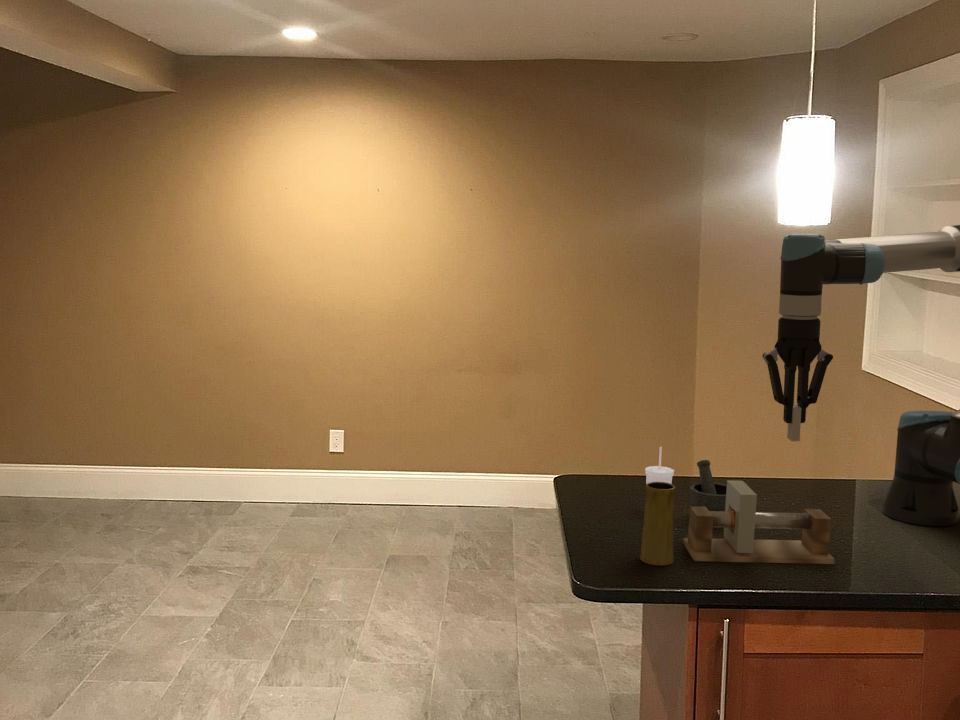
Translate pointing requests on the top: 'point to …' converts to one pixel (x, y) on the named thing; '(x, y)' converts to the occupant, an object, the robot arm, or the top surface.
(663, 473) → the beverage cup
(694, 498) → the mortar and pestle
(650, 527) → the vase
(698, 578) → the top surface
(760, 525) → the pipe
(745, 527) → the collar
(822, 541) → the stand
